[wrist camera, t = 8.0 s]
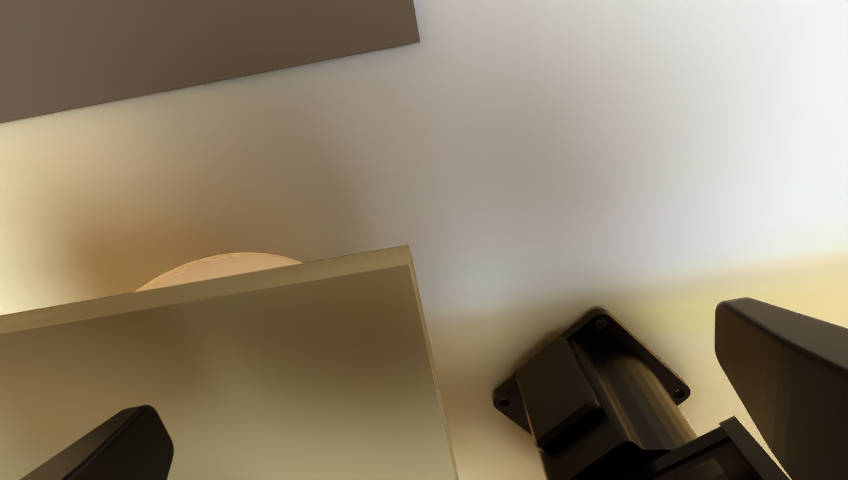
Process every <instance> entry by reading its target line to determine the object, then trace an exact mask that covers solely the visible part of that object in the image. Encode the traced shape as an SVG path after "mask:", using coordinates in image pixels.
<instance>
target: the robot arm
mask: <svg viewBox="0 0 848 480" xmlns="http://www.w3.org/2000/svg"><path fill="white" fill-rule="evenodd" d="M599 319H604V320H603V321H602V322H601V323H599V324H595V323H596V321H597V320H599ZM715 353H716V356H717V359H718V362H719V364H720V365H721V367H722V369H723V370H724V372H725V374H726V376H727V377H728V379H729V381H730V382H731V384H732V386H733V387H734V389H735V391H736V393H737V394H738V396H739V398H740V399H741V401H742V403H743V405H744V406H745V408H746V410H747V411H748V413H749V415H750V416H751V418H752V420H753V422H754V423H755V425H756V427H757V428H758V430H759V432H760V433H761V435H762V437H763V438H764V440H765V442H766V443H767V445H768V446H769V448H770V450H771V451H772V453H773V454H774V456H775V457H776V458H777V460H778V461H779V463H780V464H781V466H782V467H783V468H784V470H785V471H786V472H787V474H788V475H789V477H790V478H791V479H792V480H848V329H847V328H844V327H841V326H838V325H835V324H831V323H828V322H825V321H822V320H819V319H815V318H812V317H809V316H806V315H803V314H800V313H796V312H793V311H790V310H787V309H784V308H780V307H777V306H774V305H771V304H768V303H764V302H761V301H758V300H755V299H752V298H746V297H744V298H738V299H733V300H727V301H722V302H720V303H719V304H718V305H717V307H716V311H715ZM677 390H679V391H677ZM675 391H677V392H675ZM689 396H690V389H689V387H688V386H687V384H686V383H685V382H684V381H683V380H682V379H681V378H680V377H679V376H678V375H677V374H676V373H675V372H673V371H672V370H671V369H670V368H669V367H668V366H667V365H666V364H665V363H664V362H662V361H661V360H660V359H659V358H658V357H657V356H656V355H655V354H654V353H653V352H651V351H650V350H649V349H648V348H647V347H646V346H645V345H644V344H643V343H642V342H640V341H639V340H638V339H637V338H636V337H635V336H634V335H633V334H632V333H631V332H630V331H628V330H627V329H626V328H625V327H624V326H623V325H622V324H621V323H620V322H619V321H617V320H616V319H615V318H614V317H613V316H612V315H611V314H610V313H609V312H608V311H606V310H604V309H595V310H593V311H591V312H590V313H588V314H587V315H586V316H585V317H583V318H582V319H581V320H580V321H579V322H577V323H576V324H575V325H574V326H573V327H571V328H570V329H569V330H568V331H566V332H565V333H564V334H563V335H562V336H560V337H559V338H557V339H556V340H554V341H553V342H552V343H551V344H550V345H548V346H547V347H546V348H545V349H544V350H542V351H541V352H540V353H539V354H537V355H536V356H535V357H534V358H533V359H531V360H530V361H529V362H528V363H527V364H525V365H524V366H523V367H522V368H520V369H519V370H518V371H517V373H515V374H514V375H513V376H512V377H511V378H509V379H508V380H507V381H506V382H505V383H503V384H502V385H501V386H500V387H498V388H497V389H496V390H495V391H494V392H493V394H492V399H493V404H494V407H495V408H496V409H497V410H499V411H500V412H502V413H503V414H504V415H506V416H507V417H508V418H510V419H511V420H512V421H514V422H515V423H516V424H518V425H519V426H520V427H522V428H523V429H524V430H526V431H527V432H528V433H530V434H531V435H532V436H533V440H534V443H535V445H536V447H537V448H538V452H539V455H540V459H541V462H542V466H543V469H544V472H545V476H546V479H547V480H790V479H789V478H788V477H787V476H786V475H785V473H784V472H783V471H782V470H781V469H780V468H779V467H778V465H777V464H776V463H775V462H774V461H773V460H772V459H771V457H770V456H769V455H768V454H767V453H766V452H765V451H764V449H763V448H762V447H761V446H760V445H759V444H758V443H757V441H756V440H755V439H754V438H753V437H752V436H751V435H750V433H749V432H748V431H747V430H746V429H745V428H744V426H743V425H742V424H741V423H740V422H739V421H738V420H737V418H736V417H735V416H733V417H731V418H729V419H727V420H725V421H723V422H721V423H719V425H720V427H718V428H716V429H714V430H712V431H710V432H708V433H706V434H704V435H702V436H700V437H697V436H696V434H695V433H694V431H693V430H692V428H691V427H690V425H689V424H688V422H687V421H686V419H685V418H684V416H683V415H682V413H681V412H680V410H679V409H678V407H677V406H678V405H679V404H681V403H682V402H683V401H685V400H686V399H687V398H688V397H689ZM502 398H507V399H506V400H500V399H502ZM173 456H174V446H173V441H172V439H171V437H170V435H169V433H168V431H167V430H166V428H165V426H164V424H163V422H162V420H161V418H160V416H159V414H158V412H157V411H156V409H155V408H154V407H152V406H151V405H141V406H136V407H130V408H126V409H123V410H121V411H120V412H118V413H117V414H115V415H114V416H112V417H111V418H109V419H108V420H106V421H105V422H103V423H102V424H101V425H99V426H98V427H96V428H95V429H93V430H92V431H90V432H89V433H87V434H86V435H84V436H83V437H81V438H80V439H78V440H77V441H76V442H74V443H73V444H71V445H70V446H68V447H67V448H65V449H64V450H62V451H61V452H59V453H58V454H56V455H55V456H53V457H52V458H51V459H49V460H48V461H46V462H45V463H43V464H42V465H40V466H39V467H37V468H36V469H34V470H33V471H31V472H30V473H28V474H27V475H26V476H24V477H23V478H21V479H20V480H167V478H168V475H169V471H170V467H171V464H172V460H173Z"/></svg>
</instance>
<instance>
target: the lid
mask: <svg viewBox="0 0 848 480" xmlns="http://www.w3.org/2000/svg"><path fill="white" fill-rule="evenodd" d="M141 405H151V406H152V407H154V408H155V409H156V411H157V412H158V414H159V416H160V418H161V420H162V422H163V424H164V426H165V428H166V430H167V431H168V433H169V435H170V437H171V439H172V441H173V446H174V456H173V460H172V464H171V467H170V471H169V475H168V478H167V480H459V479H458V474H457V469H456V465H455V460H454V455H453V451H452V446H451V441H450V436H449V432H448V427H447V422H446V418H445V413H444V408H443V403H442V399H441V394H440V389H439V385H438V380H437V375H436V370H435V366H434V361H433V356H432V352H431V347H430V342H429V337H428V333H427V328H426V323H425V319H424V314H423V309H422V304H421V300H420V295H419V290H418V286H417V281H416V276H415V271H414V267H413V262H412V257H411V253H410V248H409V245H405V246H399V247H393V248H387V249H382V250H376V251H370V252H364V253H359V254H353V255H347V256H341V257H335V258H330V259H324V260H318V261H312V262H307V263H301V264H295V265H289V266H283V267H278V268H272V269H266V270H260V271H255V272H249V273H243V274H237V275H231V276H226V277H220V278H214V279H208V280H203V281H197V282H191V283H185V284H179V285H174V286H168V287H162V288H156V289H151V290H145V291H139V292H133V293H127V294H122V295H116V296H110V297H104V298H99V299H93V300H87V301H81V302H76V303H70V304H64V305H58V306H52V307H47V308H41V309H35V310H29V311H24V312H18V313H12V314H6V315H0V480H20V479H21V478H23V477H24V476H26V475H27V474H28V473H30V472H31V471H33V470H34V469H36V468H37V467H39V466H40V465H42V464H43V463H45V462H46V461H48V460H49V459H51V458H52V457H53V456H55V455H56V454H58V453H59V452H61V451H62V450H64V449H65V448H67V447H68V446H70V445H71V444H73V443H74V442H76V441H77V440H78V439H80V438H81V437H83V436H84V435H86V434H87V433H89V432H90V431H92V430H93V429H95V428H96V427H98V426H99V425H101V424H102V423H103V422H105V421H106V420H108V419H109V418H111V417H112V416H114V415H115V414H117V413H118V412H120V411H121V410H123V409H126V408H130V407H136V406H141Z"/></svg>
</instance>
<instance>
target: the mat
mask: <svg viewBox="0 0 848 480" xmlns="http://www.w3.org/2000/svg"><path fill="white" fill-rule="evenodd" d="M417 42H420V39H419V33H418V28H417V22H416V16H415V10H414V4H413V0H0V123H4V122H9V121H14V120H19V119H24V118H30V117H35V116H40V115H45V114H50V113H55V112H61V111H66V110H71V109H76V108H81V107H86V106H92V105H97V104H102V103H107V102H112V101H117V100H122V99H128V98H133V97H138V96H143V95H148V94H153V93H159V92H164V91H169V90H174V89H179V88H184V87H190V86H195V85H200V84H205V83H210V82H215V81H221V80H226V79H231V78H236V77H241V76H246V75H252V74H257V73H262V72H267V71H272V70H277V69H283V68H288V67H293V66H298V65H303V64H308V63H314V62H319V61H324V60H329V59H334V58H339V57H344V56H350V55H355V54H360V53H365V52H370V51H375V50H381V49H386V48H391V47H396V46H401V45H406V44H412V43H417Z"/></svg>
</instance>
